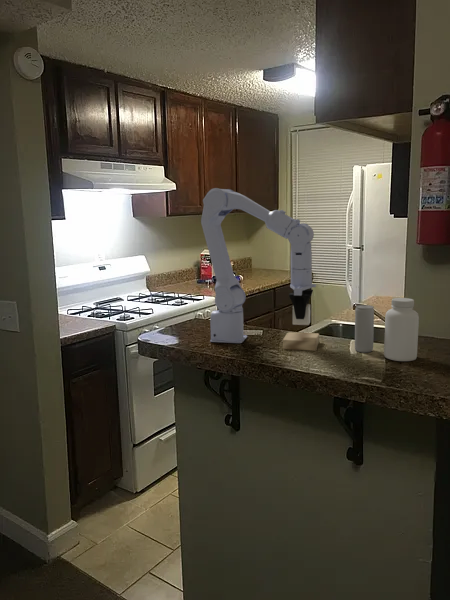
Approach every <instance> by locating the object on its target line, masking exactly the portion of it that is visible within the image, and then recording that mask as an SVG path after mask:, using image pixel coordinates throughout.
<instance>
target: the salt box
mask: <svg viewBox="0 0 450 600" xmlns="http://www.w3.org/2000/svg"><path fill="white" fill-rule="evenodd" d="M310 323H311V304H310V303H309V304H307V305H306V312H305V317H304V319H296V316H295V311H294V307H293V306H292V325H293V326H294V325H295V326H297V325H299V326H309V325H310Z"/></svg>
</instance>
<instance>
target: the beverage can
mask: <svg viewBox="0 0 450 600" xmlns="http://www.w3.org/2000/svg"><path fill="white" fill-rule="evenodd" d="M354 316H355V317H354V349H355V352H358V353H371V352H373V351H374V335H375V334H374V329H375V325H374V324H375V308H374V306H373V305H368V304H359V305H356V306H355V309H354Z"/></svg>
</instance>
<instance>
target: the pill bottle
mask: <svg viewBox="0 0 450 600" xmlns="http://www.w3.org/2000/svg"><path fill="white" fill-rule="evenodd" d="M414 306H415V299H413V298H408V297H394V298H392V299H391V305H390V309H388V310H387V311H386V312H385V316H384V317H385V318H384V320H385V321H384V340H383V341H384V345H383V356H384V357H385V358H386V359H388V360H392V361H396V362H411V361H415V360H416V359H417V357H418V346H419V345H418V343H419V341H418V340H419V339H418V338H419V321H420V318H419V317H420V316H419V313H418V312H417V311H416V310H415V309H414Z"/></svg>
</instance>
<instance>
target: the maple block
mask: <svg viewBox="0 0 450 600" xmlns="http://www.w3.org/2000/svg"><path fill="white" fill-rule="evenodd" d="M319 343H320V333H318V332H316V333H315V332H296V331H295V332H294V331H293V332H292V331H288V332H286V334H285V336H284V337H283V338H282V350H297V351H299V350H300V351H317V349H318V346H319Z"/></svg>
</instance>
